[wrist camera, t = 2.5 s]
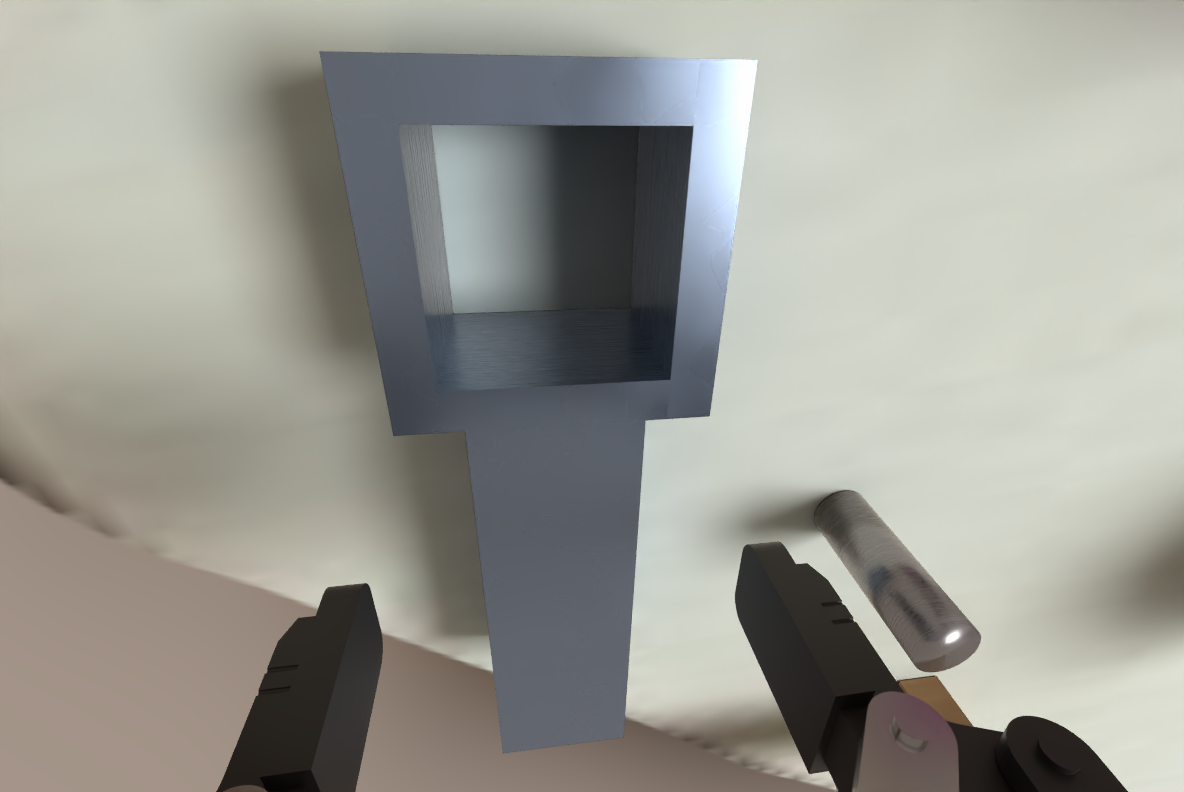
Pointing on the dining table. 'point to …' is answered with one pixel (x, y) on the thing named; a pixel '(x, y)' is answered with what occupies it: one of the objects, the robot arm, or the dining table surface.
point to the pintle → (896, 584)
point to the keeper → (935, 698)
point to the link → (548, 343)
